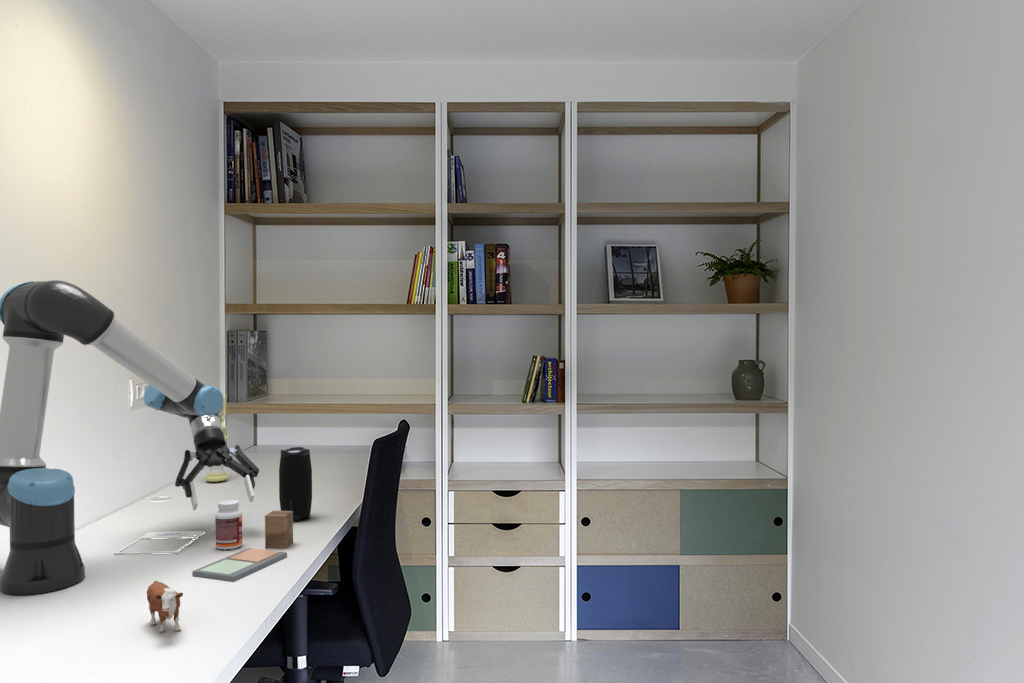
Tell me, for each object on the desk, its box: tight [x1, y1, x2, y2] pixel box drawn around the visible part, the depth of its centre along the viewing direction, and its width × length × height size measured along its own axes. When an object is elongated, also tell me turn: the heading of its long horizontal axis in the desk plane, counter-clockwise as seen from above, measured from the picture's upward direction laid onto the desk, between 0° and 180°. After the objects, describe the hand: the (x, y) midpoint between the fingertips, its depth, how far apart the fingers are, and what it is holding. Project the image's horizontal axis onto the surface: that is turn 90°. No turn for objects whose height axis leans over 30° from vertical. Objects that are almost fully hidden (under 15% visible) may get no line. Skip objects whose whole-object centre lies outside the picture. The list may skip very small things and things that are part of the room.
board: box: [191, 547, 288, 582], centre depth 170 cm, size 18×11×1 cm, turn 160°
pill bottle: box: [214, 499, 243, 551], centre depth 184 cm, size 6×6×11 cm
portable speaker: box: [278, 446, 313, 523], centre depth 211 cm, size 9×9×20 cm
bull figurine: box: [146, 580, 184, 634], centre depth 135 cm, size 4×13×8 cm, turn 36°
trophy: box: [205, 394, 229, 483], centre depth 263 cm, size 8×8×30 cm
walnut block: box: [264, 510, 294, 550], centre depth 185 cm, size 5×5×8 cm
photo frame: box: [113, 530, 207, 556], centre depth 188 cm, size 15×1×18 cm
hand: (224, 502), depth 188 cm, fingers open, 13 cm apart
